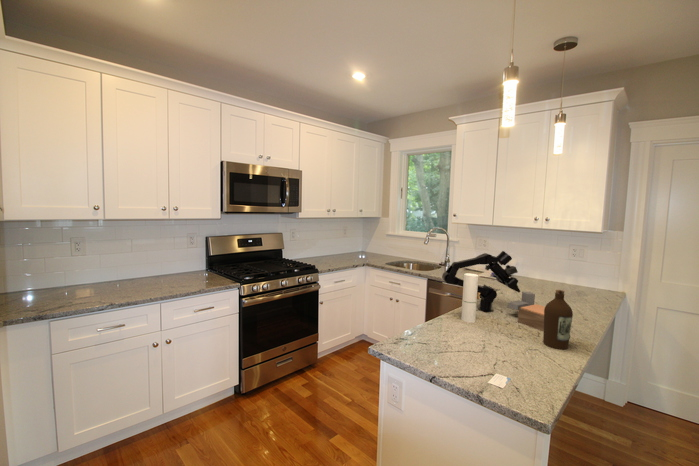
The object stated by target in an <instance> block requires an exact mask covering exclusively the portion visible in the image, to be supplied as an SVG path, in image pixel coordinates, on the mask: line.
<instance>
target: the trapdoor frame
mask: <svg viewBox="0 0 699 466" xmlns="http://www.w3.org/2000/svg"><path fill="white" fill-rule="evenodd" d="M517 313H518V314H517V315H518V316H517V323H518V324H522V325H525V326H528V327H530V328H534V329H536V330H539V331H542V332H544V315H541V314H538V313H534V312H531V311H528V310H524V309H521V308H519V310H518V312H517Z"/></svg>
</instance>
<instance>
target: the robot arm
mask: <svg viewBox="0 0 699 466" xmlns="http://www.w3.org/2000/svg"><path fill="white" fill-rule="evenodd" d="M512 260H513V258H512V256H511V255H510V254H508V253H507V252H506V251H505V250H502V251H501V252H500V253H498V255H496V256H493V255H492V254H490V253H485V252H484V253H482V254H479V255H478V256H475V257H473V258H469V259H464V260H463V259H462V260H458V261H453V262H451V265H450V266H449V267H448V268H447V270H445V272H443V273H442V275H441V278H442V280H443V282H445V283H447V284H450V285H454V286H455V285H457V286H460V287H462V288H463V283H464V279H462V278H460V277H457V273H458V272H459V270H460V269H464V268H468V267H472V266H477V265H478V266H479V265H483V266H484V265H485V268H484V269H485V270H486V271H489V270H490V271H491V272H492V273H493V274H494V277H495V280H496V281H497V282H499V283H500V284H502V285H504V286H506V287H507V288H508V289H511V290H513V291H515V292H517V293H520V292H521V290H520V288H519V286H518V283H519V280H518V279H517V278H516V277H514V276H512V275H514V274H517V273H518V272H519V271H518V269H517V267H516V266H514V265H509V262H510V261H512ZM502 266H505V268H503V267H502ZM477 293H478V297H479V299H480V303H479V307H478V308H477V310H479V311H481V312H484V313H491V312H494V309H492V307H493V303H494V301H495V299H496V298H497V297H498V293H497V291H496V290H495V288H494V287H493V286H490V285H486V284H483V285H482V286H481V285H478V289H477Z"/></svg>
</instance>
